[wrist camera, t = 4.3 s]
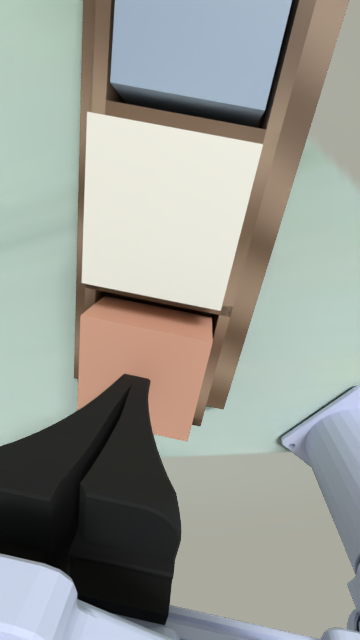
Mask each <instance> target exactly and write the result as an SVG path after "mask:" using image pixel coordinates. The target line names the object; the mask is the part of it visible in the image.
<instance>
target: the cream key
mask: <svg viewBox="0 0 360 640" xmlns="http://www.w3.org/2000/svg"><path fill="white" fill-rule="evenodd" d="M262 147H263V144H259V143H253V142H248V141H243V140H237V139H232V138H227V137H221V136H216V135H210V134H205V133H200V132H194V131H189V130H183V129H178V128H173V127H167V126H162V125H156V124H151V123H146V122H140V121H135V120H130V119H124V118H119V117H113V116H108V115H103V114H97V113H92V112H87V129H86V160H85V191H84V222H83V254H82V283H84V284H89V285H94V286H99V287H104V288H109V289H114V290H119V291H124V292H129V293H134V294H139V295H144V296H149V297H154V298H159V299H164V300H169V301H174V302H179V303H184V304H189V305H194V306H199V307H204V308H209V309H214V310H218V311H221V308H222V304H223V300H224V296H225V292H226V288H227V284H228V280H229V276H230V273H231V269H232V265H233V261H234V257H235V253H236V249H237V245H238V241H239V237H240V233H241V229H242V225H243V222H244V218H245V214H246V210H247V206H248V202H249V198H250V194H251V190H252V186H253V182H254V178H255V174H256V171H257V167H258V163H259V159H260V155H261V151H262Z"/></svg>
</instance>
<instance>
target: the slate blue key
mask: <svg viewBox="0 0 360 640" xmlns="http://www.w3.org/2000/svg"><path fill="white" fill-rule="evenodd" d="M291 3H292V0H115V8H114V25H113V43H112V60H111V77H110V83H111V84H112V85H113V87H114V88H115V89H116V91H117V92H118V93H119V95H120V96H121V97H122V99H123V100H124V101H125V103H126V104H130V105H136V106H141V107H146V108H152V109H157V110H163V111H168V112H174V113H179V114H184V115H190V116H195V117H201V118H206V119H212V120H217V121H222V122H228V123H233V124H239V125H244V126H250V127H255V128H256V126H257V124H258V122H259V120H260V119H261V117H262V115H263V113H264V111H265V108H266V104H267V100H268V96H269V92H270V88H271V84H272V80H273V76H274V72H275V68H276V64H277V60H278V56H279V52H280V48H281V44H282V39H283V35H284V31H285V27H286V23H287V19H288V15H289V11H290V7H291Z"/></svg>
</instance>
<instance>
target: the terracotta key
mask: <svg viewBox="0 0 360 640" xmlns="http://www.w3.org/2000/svg"><path fill="white" fill-rule="evenodd" d="M212 343H213V336H212V317H207V316H202V315H197V314H192V313H187V312H182V311H178V310H173V309H168V308H163V307H158V306H153V305H148V304H143V303H138V302H133V301H128V300H123V299H118V298H113V297H108V296H104V297H103V298H101V299H100V300H99V301H98V302H96V303H95V304H94V305H93V306H91V307H90V308H89V309H88V310H86V311H85V312H84V313H83V314H81V316H80V347H79V378H78V410H79V409H81V408H82V407H84V406H85V405H87V404H88V403H89V402H91V401H92V400H94V399H95V398H96V397H97V396H99V395H100V394H101V393H102V392H104V391H105V390H106V389H107V388H108V387H110V386H111V385H112V384H113V383H114V382H115V381H116V380H117V379H119V378H120V377H121V376H122V375H123V374H129V375H134V376H138V377H143V378H148V379H149V380H150V381H151V382H150V388H149V394H148V404H149V415H150V421H151V427H152V432H153V434H155V435H160V436H164V437H169V438H174V439H178V440H183V441H188V437H189V433H190V429H191V426H192V422H193V418H194V414H195V410H196V406H197V402H198V398H199V394H200V390H201V386H202V382H203V378H204V375H205V371H206V367H207V363H208V359H209V355H210V351H211V347H212ZM78 410H77V411H78Z"/></svg>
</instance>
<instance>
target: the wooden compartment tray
mask: <svg viewBox="0 0 360 640" xmlns="http://www.w3.org/2000/svg"><path fill="white" fill-rule="evenodd" d="M348 2H349V0H292V3H291V7H290V11H289V15H288V19H287V23H286V27H285V31H284V35H283V39H282V44H281V48H280V52H279V56H278V60H277V64H276V68H275V72H274V76H273V80H272V84H271V88H270V92H269V96H268V100H267V104H266V108H265V111H264V113H263V115H262V117H261V119H260V120H259V122H258V124H257V126H256V128H255V127H250V126H244V125H239V124H233V123H228V122H222V121H217V120H212V119H206V118H201V117H195V116H190V115H184V114H179V113H174V112H168V111H163V110H157V109H152V108H146V107H141V106H136V105H130V104H126V103H125V101H124V100H123V99H122V97H121V96H120V95H119V93H118V92H117V91H116V89H115V88H114V87H113V85H112V84H111V83H110V77H111V60H112V43H113V25H114V8H115V0H83V31H82V72H81V114H80V155H79V197H78V238H77V280H76V321H75V363H74V378H76V379H78V378H79V347H80V316H81V314H83V313H84V312H85V311H86V310H88V309H89V308H90V307H91V306H93V305H94V304H95V303H96V302H98V301H99V300H100V299H101V298H103V297H104V296H108V297H113V298H118V299H123V300H128V301H133V302H138V303H143V304H148V305H153V306H158V307H163V308H168V309H173V310H178V311H182V312H187V313H192V314H197V315H202V316H207V317H212V336H213V343H212V347H211V351H210V355H209V359H208V363H207V367H206V371H205V375H204V378H203V382H202V386H201V390H200V394H199V398H198V402H197V406H196V410H195V414H194V418H193V422H192V425H196V426H201V422H202V418H203V415H204V411H205V407H206V406H209V407H214V408H219V409H224V406H225V403H226V400H227V396H228V393H229V390H230V387H231V383H232V380H233V377H234V374H235V370H236V367H237V364H238V361H239V357H240V354H241V351H242V347H243V344H244V341H245V338H246V334H247V331H248V328H249V325H250V321H251V318H252V315H253V312H254V308H255V305H256V302H257V299H258V295H259V292H260V289H261V286H262V282H263V279H264V276H265V273H266V269H267V266H268V263H269V260H270V256H271V253H272V250H273V247H274V243H275V240H276V237H277V234H278V230H279V227H280V224H281V221H282V217H283V214H284V211H285V208H286V204H287V201H288V198H289V195H290V191H291V188H292V185H293V182H294V178H295V175H296V172H297V169H298V165H299V162H300V159H301V155H302V152H303V149H304V146H305V142H306V139H307V136H308V133H309V129H310V126H311V123H312V119H313V116H314V113H315V110H316V107H317V103H318V100H319V97H320V93H321V90H322V87H323V84H324V81H325V77H326V74H327V71H328V68H329V64H330V61H331V58H332V54H333V51H334V48H335V44H336V42H337V38H338V35H339V32H340V29H341V25H342V22H343V19H344V16H345V12H346V9H347V6H348ZM87 112H92V113H97V114H103V115H108V116H113V117H119V118H124V119H130V120H135V121H140V122H146V123H151V124H156V125H162V126H167V127H173V128H178V129H183V130H189V131H194V132H200V133H205V134H210V135H216V136H221V137H227V138H232V139H237V140H243V141H248V142H253V143H259V144H263V147H262V151H261V155H260V159H259V163H258V167H257V171H256V174H255V178H254V182H253V186H252V190H251V194H250V198H249V202H248V206H247V210H246V214H245V218H244V222H243V225H242V229H241V233H240V237H239V241H238V245H237V249H236V253H235V257H234V261H233V265H232V269H231V273H230V276H229V280H228V284H227V288H226V292H225V296H224V300H223V304H222V308H221V311H218V310H214V309H209V308H204V307H199V306H194V305H189V304H184V303H179V302H174V301H169V300H164V299H159V298H154V297H149V296H144V295H139V294H134V293H129V292H124V291H119V290H114V289H109V288H104V287H99V286H94V285H89V284H84V283H82V254H83V222H84V191H85V160H86V129H87Z"/></svg>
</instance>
